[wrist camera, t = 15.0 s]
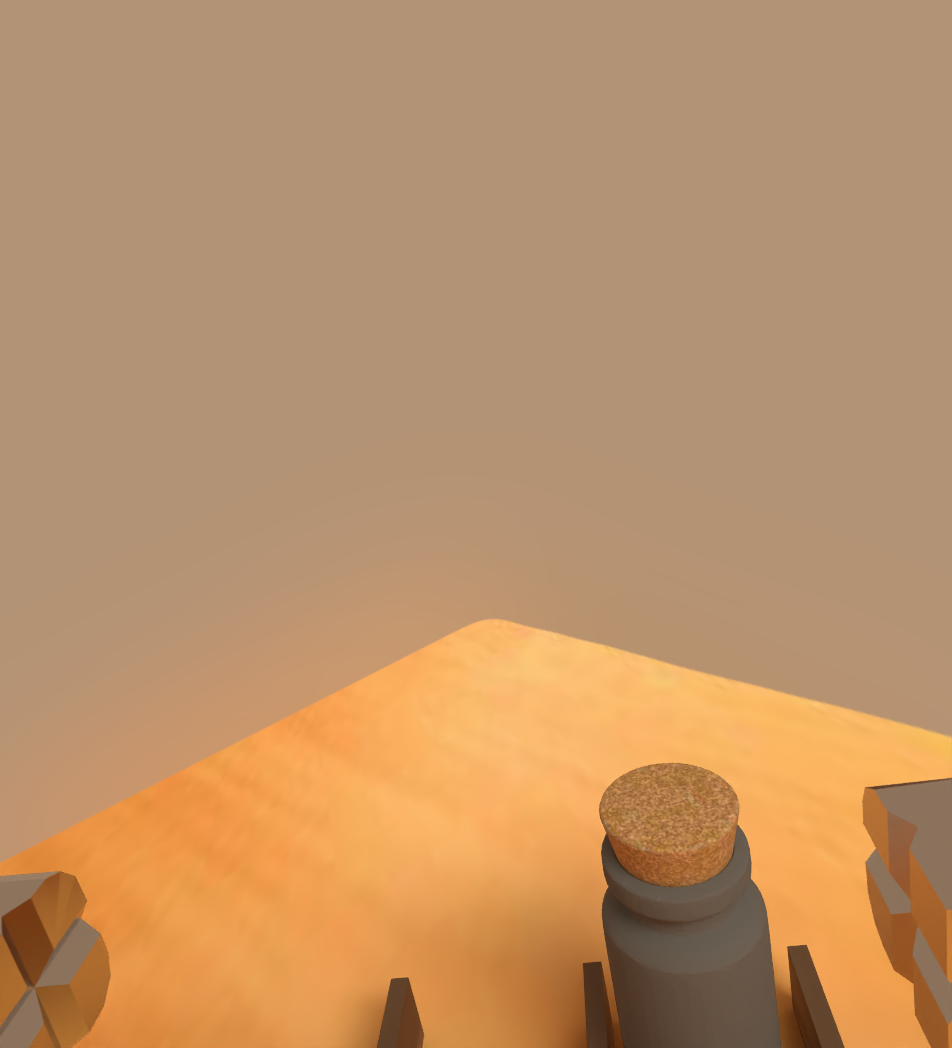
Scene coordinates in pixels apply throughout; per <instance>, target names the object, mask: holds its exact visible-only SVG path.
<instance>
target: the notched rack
mask: <svg viewBox="0 0 952 1048" xmlns="http://www.w3.org/2000/svg"><path fill="white" fill-rule="evenodd" d="M787 948H788V959H789V970H790V981H791V992H792V1003H793V1010H794V1013H795V1016H796V1019H797V1022H798V1025H799V1028H800V1031H801V1035H802V1038H803V1041H804V1044H805V1047H806V1048H844V1045H843V1042H842V1040H841V1037H840V1034H839V1032H838V1029H837V1026H836V1023H835V1021H834V1018H833V1015H832V1013H831V1010H830V1007H829V1004H828V1002H827V999H826V996H825V994H824V991H823V988H822V985H821V983H820V980H819V977H818V975H817V972H816V969H815V966H814V964H813V961H812V958H811V956H810V953H809V950H808V947H807V945H800V946H788V947H787ZM583 971H584V990H585V1010H586V1029H587V1048H614V1040H613V1028H612V1019H611V1013H610V1008H609V1002H608V997H607V991H606V986H605V980H604V975H603V969H602V964H601V962H591V963H583ZM423 1038H424V1033H423V1029H422V1025H421V1022H420V1018H419V1014H418V1011H417V1007H416V1004H415V1000H414V996H413V993H412V989H411V985H410V982H409V978H408V977H407V978H395V979H391V983H390V988H389V993H388V997H387V1002H386V1007H385V1012H384V1017H383V1022H382V1026H381V1031H380V1036H379V1041H378V1046H377V1048H422V1045H423Z"/></svg>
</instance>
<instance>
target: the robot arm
mask: <svg viewBox="0 0 952 1048" xmlns="http://www.w3.org/2000/svg"><path fill="white" fill-rule="evenodd" d="M862 803H863V824H864V826H865V828H866V830H867V831H868V833H869V835H870V837H871V839H872V841H873V843H874V845H875V847H876V849H875V851H874V852H873V853H872V855H871V856H870V857H869V858H868V860H867V861H866V862H865V863H866V874H867V886H868V894H869V899H870V903H871V908H872V912H873V917H874V921H875V925H876V927H877V930H878V933H879V936H880V939H881V941H882V944H883V947H884V949H885V951H886V953H887V956H888V958H889V960H890V962H891V964H892V967H893V969H894V971H896V972H897V973H899V974H900V975H902V976H903V977H904V978H906V979H907V980H909V981H910V982H912V983H913V984H914V1003H915V1015H916V1017H917V1019H918V1021H919V1024H920V1026H921V1028H922V1030H923V1032H924V1034H925V1036H926V1038H927V1040H928V1042H929V1044H930V1046H931V1048H952V778H946V779H937V780H928V781H919V782H910V783H901V784H892V785H882V786H873V787H865V790H864V795H863V801H862ZM86 902H87V900H86V898H85V895H84V893H83V891H82V889H81V887H80V885H79V883H78V881H77V879H76V877H75V876H73V875H70V874H67V873H64V872H61V871H59V872H46V873H34V874H21V875H9V876H0V1048H71V1047H72V1046H73V1045H75V1044H76V1043H77V1042H78V1041H79V1040H81V1039H82V1038H83V1037H84V1036H85V1035H87V1034H88V1033H89V1032H90V1031H91V1029H92V1027H93V1025H94V1023H95V1021H96V1019H97V1018H98V1016H99V1014H100V1012H101V1010H102V1008H103V1007H104V1003H105V999H106V994H107V989H108V985H109V980H110V966H109V956H108V951H107V948H106V946H105V943H104V941H103V938H102V936H101V934H100V933H99V932H98V931H96V930H95V929H94V928H93V927H91V926H90V925H89V924H87V923H86V922H85V921H83V920H82V919H81V916H82V914H83V911H84V908H85V905H86Z"/></svg>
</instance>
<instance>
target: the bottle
mask: <svg viewBox="0 0 952 1048" xmlns="http://www.w3.org/2000/svg"><path fill="white" fill-rule="evenodd" d="M599 813H600V819H601V821H602V824H603V826H604V828H605V831H606V833H607V834H606V835H605V838H604V841H603V843H602V850H601V855H602V864H603V871H604V875H605V878H606V882H607V885H608V886H609V887H608V889H607V890H606V893H605V896H604V900H603V904H602V920H603V928H604V935H605V941H606V948H607V953H608V959H609V965H610V970H611V976H612V982H613V988H614V993H615V999H616V1005H617V1011H618V1016H619V1022H620V1028H621V1033H622V1039H623V1044H624V1048H781V1042H780V1031H779V1020H778V1011H777V1001H776V991H775V982H774V972H773V962H772V953H771V943H770V934H769V925H768V918H767V910H766V907H765V903H764V900H763V897H762V895H761V892H760V891H759V889H758V888H757V886H756V884H755V883H754V882H753V881H752V880H751V856H750V848H749V845H748V841H747V838H746V836H745V834H744V832H743V831H742V829H741V828H740V827H739V826H738V825H737V822H738V815H739V802H738V798H737V795H736V793H735V792H734V790H733V788H732V787H731V786H730V785H729V784H728V783H727V782H726V781H725V780H724V779H722V778H721V777H720V776H718V775H717V774H715V773H713V772H711V771H709V770H706V769H703V768H701V767H697V766H693V765H688V764H680V763H663V764H653V765H648V766H644V767H641V768H637V769H635V770H632V771H630V772H628V773H626V774H624V775H622V776H621V777H619V778H618V779H616V780H615V781H614V782H613V783H612V784H611V785H610V786H609V787H608V788H607V789H606V791H605V793H604V794H603V796H602V799H601V802H600V807H599Z"/></svg>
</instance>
